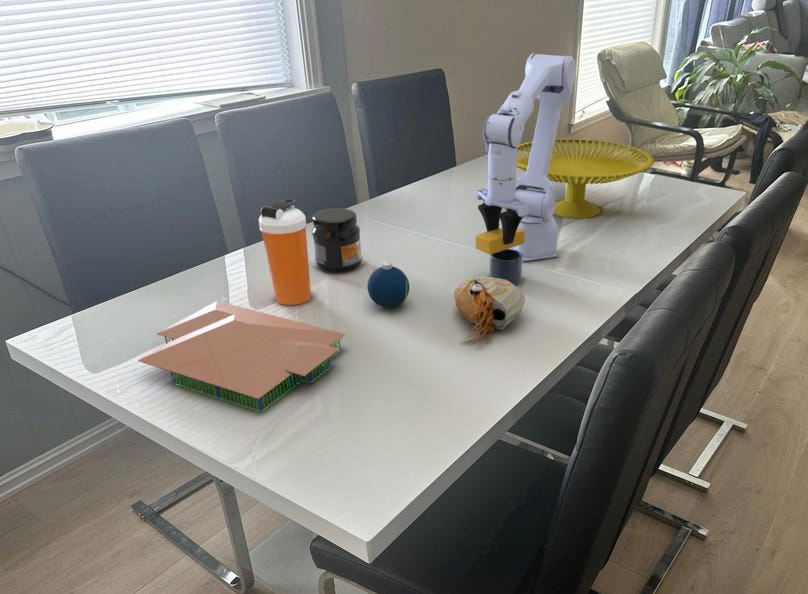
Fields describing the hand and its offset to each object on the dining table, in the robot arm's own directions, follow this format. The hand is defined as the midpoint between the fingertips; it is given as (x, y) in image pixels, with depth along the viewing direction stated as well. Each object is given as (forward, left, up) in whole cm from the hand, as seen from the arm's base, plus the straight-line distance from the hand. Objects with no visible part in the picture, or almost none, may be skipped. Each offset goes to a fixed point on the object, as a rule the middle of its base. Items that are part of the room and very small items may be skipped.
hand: (500, 239), depth 147 cm
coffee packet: (0, 0, -1) cm, 1 cm away
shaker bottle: (+44, -5, -10) cm, 45 cm away
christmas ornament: (+26, +5, -10) cm, 28 cm away
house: (+55, +18, -10) cm, 59 cm away
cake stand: (-37, -37, -10) cm, 54 cm away
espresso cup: (-1, +1, -9) cm, 9 cm away
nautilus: (+11, +19, -10) cm, 23 cm away
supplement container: (+32, -19, -10) cm, 39 cm away
